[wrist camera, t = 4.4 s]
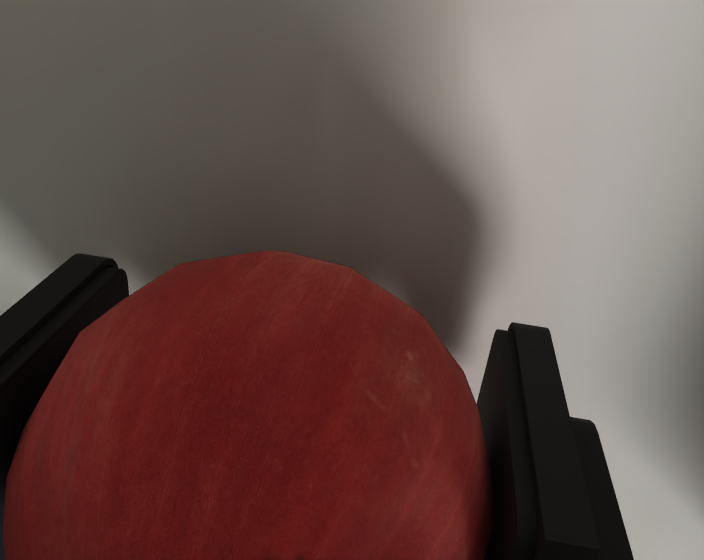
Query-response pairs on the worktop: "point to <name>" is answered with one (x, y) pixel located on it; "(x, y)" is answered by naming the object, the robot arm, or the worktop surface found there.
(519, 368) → the robot arm
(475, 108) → the worktop surface
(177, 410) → the pomegranate
